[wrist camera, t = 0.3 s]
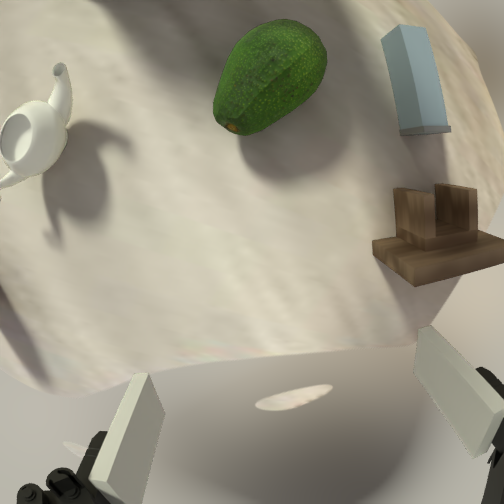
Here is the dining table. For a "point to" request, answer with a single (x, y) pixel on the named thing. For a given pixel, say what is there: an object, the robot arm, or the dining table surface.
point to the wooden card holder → (437, 236)
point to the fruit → (268, 76)
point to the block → (415, 81)
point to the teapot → (37, 132)
